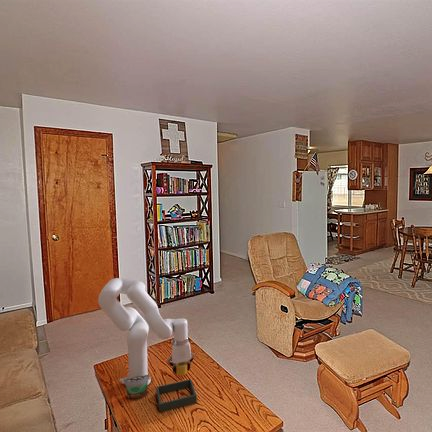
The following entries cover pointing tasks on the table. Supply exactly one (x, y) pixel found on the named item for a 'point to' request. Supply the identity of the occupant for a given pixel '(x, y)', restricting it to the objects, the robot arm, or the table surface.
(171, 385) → the dark green rectangular frame
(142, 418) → the table surface
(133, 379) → the food container
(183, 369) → the tape roll
